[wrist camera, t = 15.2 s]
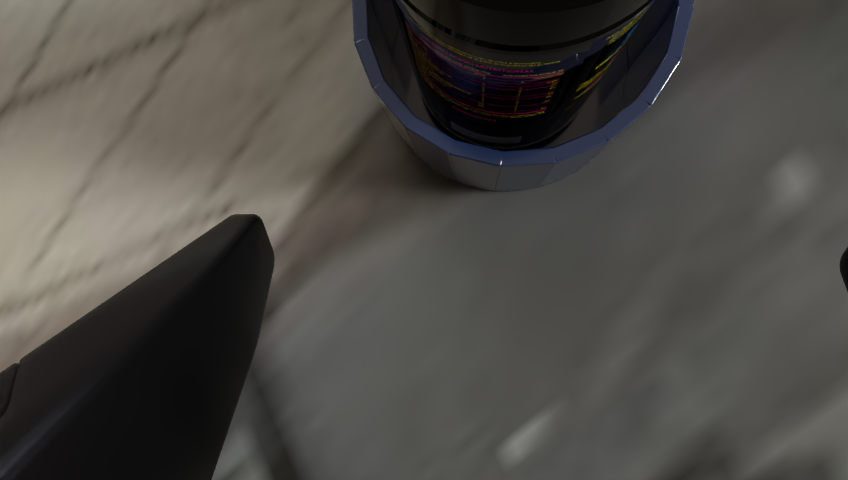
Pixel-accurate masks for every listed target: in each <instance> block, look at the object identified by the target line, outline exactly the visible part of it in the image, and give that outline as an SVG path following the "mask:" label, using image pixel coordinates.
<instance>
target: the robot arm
mask: <svg viewBox="0 0 848 480" xmlns="http://www.w3.org/2000/svg"><path fill="white" fill-rule="evenodd" d="M273 268H274V252H273V249H272V246H271V243H270V241H269V238H268V235H267V232H266V229H265V227H264V224H263V222H262V219H261V218H260V217H259V216H257V215H255V214H235V215H231V216H230V217H228V218H227V219H225V220H224V221H222V222H221V223H219V224H218V225H216V226H215V227H213V228H212V229H210V230H209V231H208V232H206V233H205V234H203V235H202V236H200V237H199V238H197V239H196V240H194V241H193V242H191V243H190V244H188V245H187V246H186V247H184V248H183V249H181V250H180V251H178V252H177V253H175V254H174V255H172V256H171V257H169V258H168V259H167V260H165V261H164V262H162V263H161V264H159V265H158V266H156V267H155V268H153V269H152V270H150V271H149V272H147V273H146V274H145V275H143V276H142V277H140V278H139V279H137V280H136V281H134V282H133V283H131V284H130V285H128V286H127V287H126V288H124V289H123V290H121V291H120V292H118V293H117V294H115V295H114V296H112V297H111V298H109V299H108V300H106V301H105V302H104V303H102V304H101V305H99V306H98V307H96V308H95V309H93V310H92V311H90V312H89V313H87V314H86V315H85V316H83V317H82V318H80V319H79V320H77V321H76V322H74V323H73V324H71V325H70V326H68V327H67V328H65V329H64V330H63V331H61V332H60V333H58V334H57V335H55V336H54V337H52V338H51V339H49V340H48V341H46V342H45V343H43V344H42V345H41V346H39V347H38V348H36V349H35V350H33V351H32V352H30V353H29V354H27V355H26V356H24V357H23V358H22V359H21V360H20V363H14V364H12V365H11V366H10V367H8V368H7V369H5V370H4V371H2V372H1V373H0V480H211V479H212V476H213V473H214V470H215V467H216V464H217V461H218V458H219V456H220V453H221V450H222V447H223V444H224V441H225V438H226V435H227V432H228V429H229V426H230V423H231V420H232V418H233V415H234V412H235V409H236V406H237V403H238V400H239V397H240V394H241V391H242V388H243V385H244V382H245V380H246V377H247V374H248V371H249V368H250V365H251V362H252V359H253V356H254V352H255V349H256V346H257V342H258V338H259V334H260V329H261V324H262V320H263V315H264V310H265V306H266V301H267V296H268V292H269V287H270V282H271V278H272V273H273ZM840 272H841V275H842V278H843V281H844V283H845V286H846V289H847V291H848V247H847V249H846V250H845V252H844V253H843V255H842V257H841V260H840Z"/></svg>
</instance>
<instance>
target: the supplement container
mask: <svg viewBox="0 0 848 480" xmlns="http://www.w3.org/2000/svg"><path fill="white" fill-rule="evenodd" d="M391 1H392V4H393V7H394V10H395V14H396V17H397V20H398V23H399V26H400V30H401V33H402V36H403V39H404V42H405V45H406V49H407V52H408V55H409V58H410V61H411V65H412V68H413V71H414V74H415V77H416V81H417V84H418V87H419V90H420V93H421V95H422V98H423V100H424V102H425V103H426V105H427V107H428V108H429V110H430V111H431V113H432V114H433V115H434V117H435V118H436V119H437V120H438V121H439V122H440V123H441V124H442V125H443V126H444V127H445V128H446V129H448V130H449V131H450V132H452V133H453V134H455V135H456V136H458V137H460V138H462V139H464V140H466V141H468V142H471V143H474V144H477V145H480V146H484V147H490V148H503V149H505V148H517V147H523V146H527V145H531V144H534V143H537V142H540V141H542V140H544V139H546V138H548V137H550V136H552V135H554V134H555V133H557V132H558V131H560V130H561V129H562V128H564V127H565V126H566V125H567V124H568V123H569V122H570V121H572V120H573V119H574V117H575V116H576V115H577V114H578V113H579V112H580V110H581V109H582V107H583V106H584V105H585V103H586V102H587V100H588V99H589V97H590V96H591V94H592V93H593V91H594V90H595V88H596V87H597V85H598V84H599V82H600V81H601V79H602V78H603V76H604V75H605V73H606V72H607V70H608V69H609V67H610V66H611V65H612V63H613V62H614V60H615V59H616V57H617V56H618V54H619V53H620V51H621V50H622V48H623V47H624V45H625V44H626V42H627V41H628V39H629V38H630V36H631V35H632V33H633V32H634V30H635V29H636V27H637V26H638V24H639V23H640V21H641V20H642V19H643V17H644V16H645V14H646V13H647V11H648V10H649V8H650V7H651V5H652V4H653V2H654V1H655V0H391Z"/></svg>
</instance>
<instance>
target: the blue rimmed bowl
mask: <svg viewBox="0 0 848 480" xmlns="http://www.w3.org/2000/svg"><path fill="white" fill-rule="evenodd" d="M352 7H353V28H354V41H355V46H356V48H357V51H358V54H359V56H360V59H361V61H362V64H363V66H364V69H365V72H366V74H367V77H368V79H369V82H370V84H371V87H372V89H373V91H374V92H375V94H376V96H377V98H378V99H379V101H380V103H381V104H382V106H383V108H384V110H385V111H386V113H387V115H388V117H389V118H390V120H391V122H392V124H393V125H394V127H395V129H396V131H397V132H398V133H399V134H400V135H401V137H402V138H403V139H404V140H405V142H406V143H407V145H408V146H409V147H410V148H411V149H412V150H413V151H414V153H415V154H416V155H417V156H418V157H419V158H420V159H421V160H422V161H424V162H425V163H426V164H427V165H429V166H430V167H431V168H433V169H434V170H436V171H437V172H439V173H440V174H442V175H444V176H445V177H448V178H450V179H452V180H454V181H456V182H458V183H461V184H464V185H467V186H471V187H474V188H479V189H484V190H490V191H520V190H528V189H532V188H537V187H541V186H544V185H547V184H550V183H553V182H556V181H558V180H560V179H562V178H564V177H566V176H568V175H570V174H573V173H575V172H576V171H578V170H579V169H581V168H582V167H583V166H584V165H586V164H587V163H588V162H589V161H590V160H592V159H593V158H594V157H595V156H596V155H598V154H599V153H600V152H601V151H603V150H604V149H605V148H606V147H607V146H609V145H610V144H611V143H612V142H613V141H614V140H615V139H616V138H617V137H619V136H620V135H621V134H622V133H623V132H624V131H625V130H626V129H627V128H628V127H629V126H631V125H632V124H633V123H634V122H635V121H636V120H637V119H638V118H639V117H640V116H642V115H643V114H644V113H645V112H646V111H647V110H648V109H649V108H650V107H651V106H652V105H653V103H654V102H655V100H656V99H657V97H658V95H659V94H660V92H661V91H662V89H663V88H664V86H665V85H666V83H667V81H668V80H669V78H670V77H671V75H672V74H673V72H674V71H675V69H676V67H677V66H678V64H679V63H680V60H681V59H682V55H683V51H684V47H685V43H686V39H687V35H688V31H689V27H690V23H691V19H692V15H693V11H694V8H693V7H694V0H655V1H654V2H653V4H652V5H651V7H650V8H649V10H648V11H647V13H646V14H645V16H644V17H643V19H642V20H641V21H640V23H639V24H638V26H637V27H636V29H635V30H634V32H633V33H632V35H631V36H630V38H629V39H628V41H627V42H626V44H625V45H624V47H623V48H622V50H621V51H620V53H619V54H618V56H617V57H616V59H615V60H614V62H613V63H612V65H611V66H610V67H609V69H608V70H607V72H606V73H605V75H604V76H603V78H602V79H601V81H600V82H599V84H598V85H597V87H596V88H595V90H594V91H593V93H592V94H591V96H590V97H589V99H588V100H587V102H586V103H585V105H584V106H583V107H582V109H581V110H580V112H579V113H578V114H577V115H576V116H575V117H574V119H573V120H572V121H570V122H569V123H568V124H567V125H566V126H565V127H564V128H562V129H561V130H560V131H558V132H557V133H555V134H554V135H552V136H550V137H548V138H546V139H544V140H542V141H540V142H537V143H534V144H531V145H527V146H523V147H517V148H505V149H503V148H490V147H484V146H480V145H477V144H474V143H471V142H468V141H466V140H464V139H462V138H460V137H458V136H456V135H455V134H453V133H452V132H450V131H449V130H448V129H446V128H445V127H444V126H443V125H442V124H441V123H440V122H439V121H438V120H437V119H436V118H435V117H434V115H433V114H432V113H431V111H430V110H429V108H428V107H427V105H426V103H425V102H424V100H423V98H422V95H421V93H420V90H419V87H418V84H417V81H416V77H415V74H414V71H413V68H412V65H411V61H410V58H409V55H408V52H407V49H406V45H405V42H404V39H403V36H402V33H401V30H400V26H399V23H398V20H397V17H396V14H395V10H394V7H393V4H392V1H391V0H352Z"/></svg>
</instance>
